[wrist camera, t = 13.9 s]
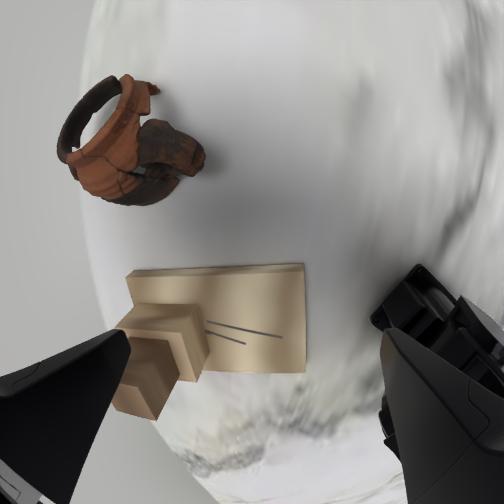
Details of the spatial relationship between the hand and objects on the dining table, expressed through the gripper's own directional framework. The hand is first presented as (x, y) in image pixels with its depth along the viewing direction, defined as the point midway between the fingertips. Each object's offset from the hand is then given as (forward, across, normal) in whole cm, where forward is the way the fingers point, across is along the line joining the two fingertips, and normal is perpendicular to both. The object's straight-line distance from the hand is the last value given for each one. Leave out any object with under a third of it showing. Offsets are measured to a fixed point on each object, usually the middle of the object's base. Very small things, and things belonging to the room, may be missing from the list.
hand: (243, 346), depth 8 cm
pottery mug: (+13, +9, -8) cm, 18 cm away
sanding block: (+12, +9, +8) cm, 17 cm away
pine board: (+13, +6, +8) cm, 16 cm away
